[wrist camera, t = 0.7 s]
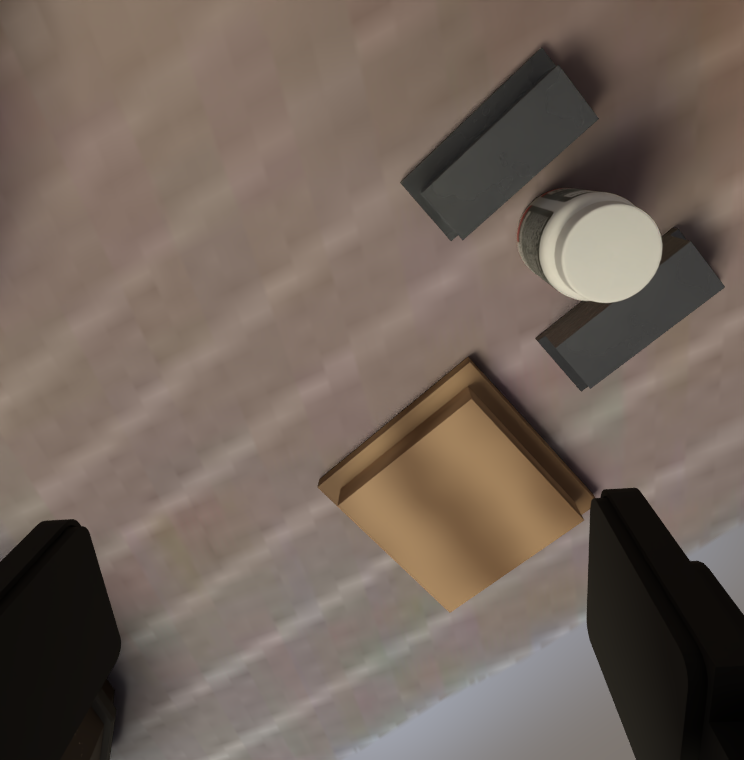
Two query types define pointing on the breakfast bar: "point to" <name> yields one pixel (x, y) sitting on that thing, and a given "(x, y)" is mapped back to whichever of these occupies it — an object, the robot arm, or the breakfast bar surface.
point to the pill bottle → (589, 244)
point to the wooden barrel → (95, 729)
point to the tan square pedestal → (458, 488)
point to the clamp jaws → (516, 168)
